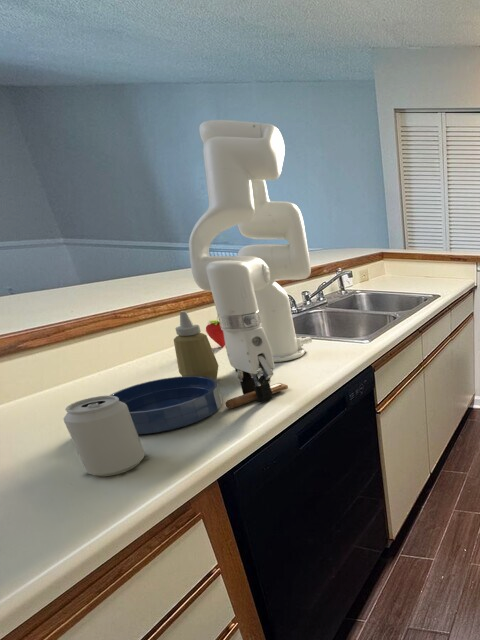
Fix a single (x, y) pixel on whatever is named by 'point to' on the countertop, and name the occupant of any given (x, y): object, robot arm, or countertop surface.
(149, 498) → the countertop surface
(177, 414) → the bowl
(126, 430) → the can
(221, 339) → the strawberry
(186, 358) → the squeeze bottle
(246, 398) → the stirring stick
